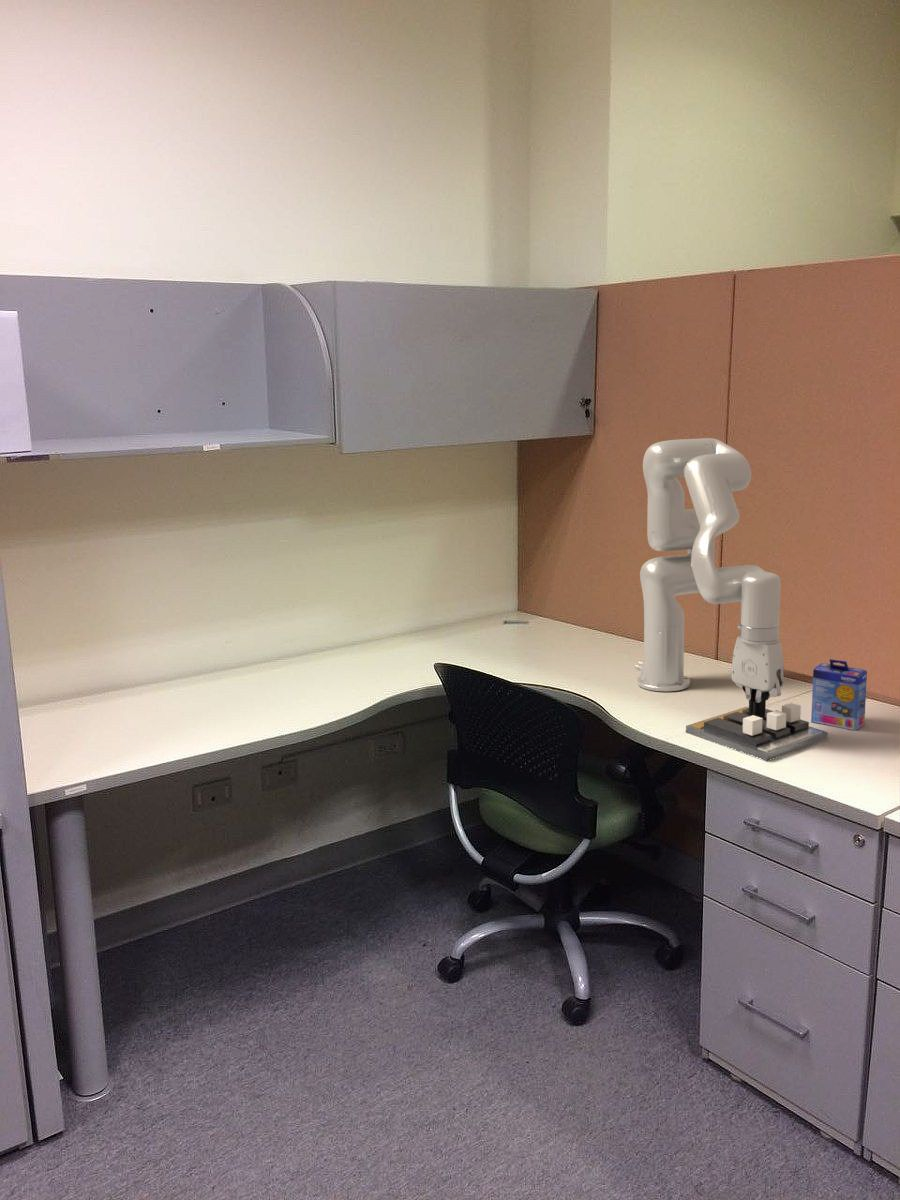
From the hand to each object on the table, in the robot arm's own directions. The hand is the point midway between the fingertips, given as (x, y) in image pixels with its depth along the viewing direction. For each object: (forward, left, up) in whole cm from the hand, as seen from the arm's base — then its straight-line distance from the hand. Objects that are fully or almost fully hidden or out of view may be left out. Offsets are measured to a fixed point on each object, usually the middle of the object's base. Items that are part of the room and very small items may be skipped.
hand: (756, 718), depth 210 cm
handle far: (+4, +6, -1) cm, 7 cm away
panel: (0, 0, -4) cm, 4 cm away
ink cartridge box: (+6, +19, -4) cm, 20 cm away
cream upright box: (+4, -6, -1) cm, 7 cm away
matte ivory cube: (+5, 0, -1) cm, 5 cm away
